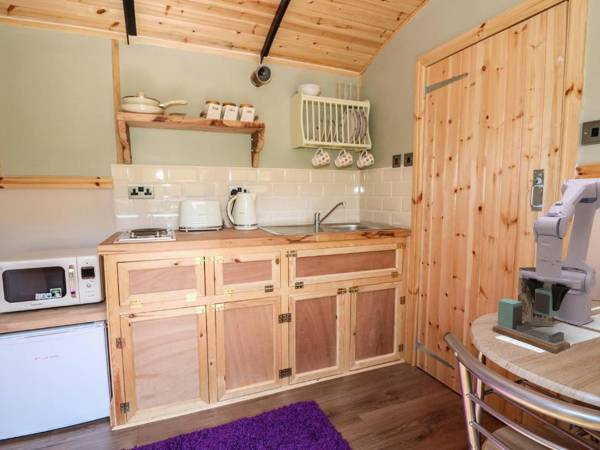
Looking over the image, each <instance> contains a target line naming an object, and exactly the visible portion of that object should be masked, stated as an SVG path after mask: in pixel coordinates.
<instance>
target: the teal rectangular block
mask: <svg viewBox="0 0 600 450" xmlns="http://www.w3.org/2000/svg"><path fill="white" fill-rule="evenodd" d="M552 303H553V296H552V290H551V288H546V287H541V288H537V289H535V312H534V313H536V314H539V315H543V316H546V317H550V318H551V317H554V316H557V315H558V311H553V309H552Z"/></svg>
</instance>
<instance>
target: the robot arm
mask: <svg viewBox="0 0 600 450" xmlns="http://www.w3.org/2000/svg"><path fill="white" fill-rule="evenodd" d="M560 191H561V198H560V199H559V201H554V202H553V203H552V205H551V206H550V207H549V208H548V209H547V211H546V212H545V214H544V215H543V216H539V217H537V218H535V220H534V222H533V227H532V230H533V234H534V242H535V244H536V255H535V257H536V258H535V267H536V272H531V271H524V270H522V271H519V270H518V279H519V278H527V279H528V281H526V285H527V286H528V288H529V290H530V292H531V294H532V297H533V301H534V305H535V289H537V288H541V287H543V286H544V282H547V283H552V284H556V285H554V286H551V290H552V296H553V303H552V309H553V311H558V315H557V316H554V320H557V321H561V322H563V323H567V324H570V325H574V326H583V325H585V324H587V323H590V322H594V321H595V318H594V317H592V305H593V304H592V303H593V301H592V300H593V299H592V297H591V295H590V294H591V293H593V292H594V291H595V288H596V280H597V279H596V274H597V272H596V270H595V268H594V267H593V266H592V265H591V264H589V263H588V262H587V256H588V251H589V245H590V240H591V234H592V230H593V224H594V219H595V215H596V212H597V211H598V209H600V177H595V178H594V177H593V178H571V179H570V178H566V179H564V180H563V181H562V184H561V188H560ZM572 218H573V220H572ZM571 220H572V225H571V230H570V236H569V241H568V246H567V251H566V255H565V256H566V257H565V258H564V259H563V246H564V245H563V243H564V238H566V236H567V234H568V230H569V227H570V223H569V222H570V221H571Z"/></svg>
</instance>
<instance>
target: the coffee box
mask: <svg viewBox="0 0 600 450" xmlns="http://www.w3.org/2000/svg"><path fill="white" fill-rule="evenodd" d="M522 270H524V271H531V272H536V266H535V267H534V266H533V267H532V266H531V267H530V266H528V267H526V266H525V267H518V272H519V271H522ZM526 281H528V279H527V278H519V277H518V285H517V286H518V287H517V290H518V291H517V301H520V302H521V305H522V306H523V308H522V321H524V322H530V323H531V327H532V326H533V327H552V328H553V327H554V324H555V323H554V321H555V319H554V317H551V318H550V317H546V316H543V315H539V314H536V313H534V312H535V305H534V301H533V297H532V294H531V292H530V290H529V288H528V286H527V285H526ZM554 285H556V284H552V283H547V282H544V286H543V287H546V288H551V286H554Z"/></svg>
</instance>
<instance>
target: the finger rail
mask: <svg viewBox="0 0 600 450" xmlns="http://www.w3.org/2000/svg"><path fill="white" fill-rule="evenodd" d="M522 308H523V306H522V305H521V302H520V301H518V300H515V299H511V298H508V297H507V298H503V299H499V300H498V308H497V324H496V325H495V326H493V327H492V331H493V332H494V333H496V334H497V333H498V334H499V335H503V336H506V337H508V338H512V339H514V340H517V341H519V342H522V343H525V344H528V345H531V346H533V347H535V348H536V347H537V348H539V349H542V350H544V351H546V352H550V353H552V354H558V353H560V352H562V351H564V350H568V349H569V348H571V342H570V341H567V339H565V333H564V332H562V331H557V332H555V333H553V334H549V333H547V332H543V331H539V330H537V329H534V328H532V326H531V323H530V322H526V321H524V322H523V319H522Z"/></svg>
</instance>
